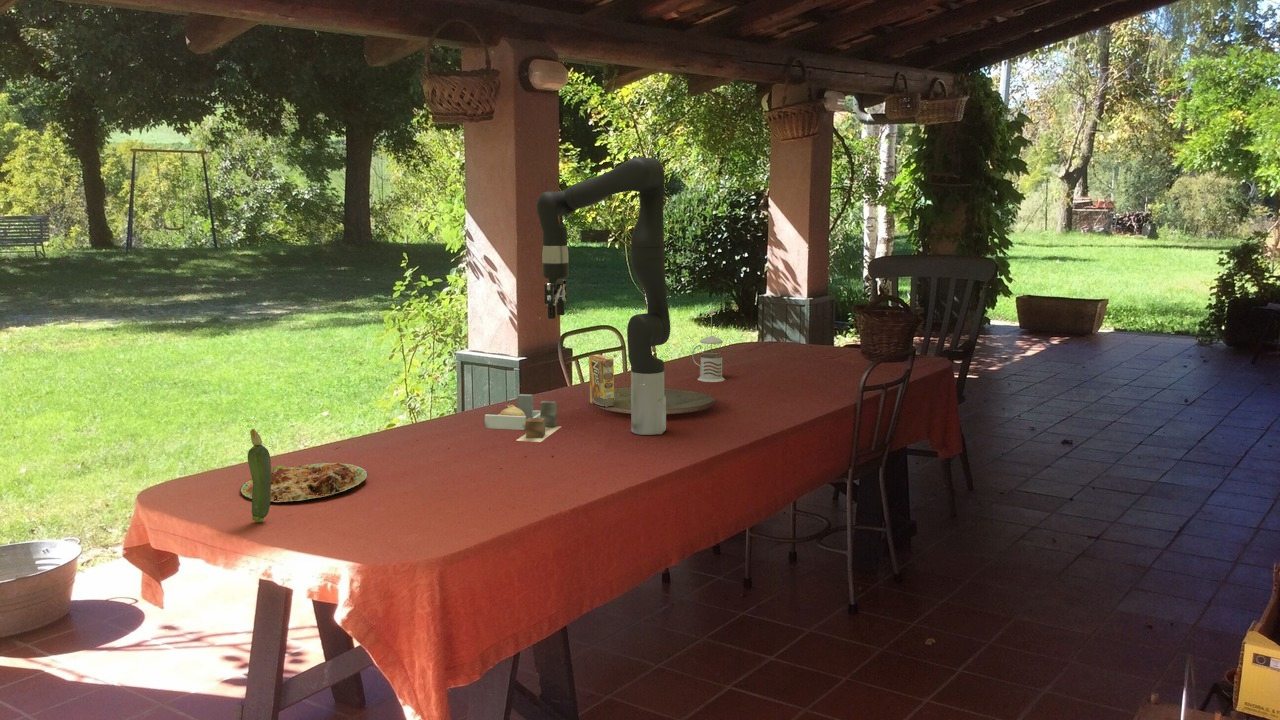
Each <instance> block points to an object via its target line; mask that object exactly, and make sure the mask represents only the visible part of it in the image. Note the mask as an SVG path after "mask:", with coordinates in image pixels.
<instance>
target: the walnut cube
mask: <svg viewBox="0 0 1280 720" xmlns="http://www.w3.org/2000/svg"><path fill="white" fill-rule="evenodd" d="M525 434H526V438H543V437H544V435H545V418H528V419H526V430H525Z"/></svg>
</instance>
